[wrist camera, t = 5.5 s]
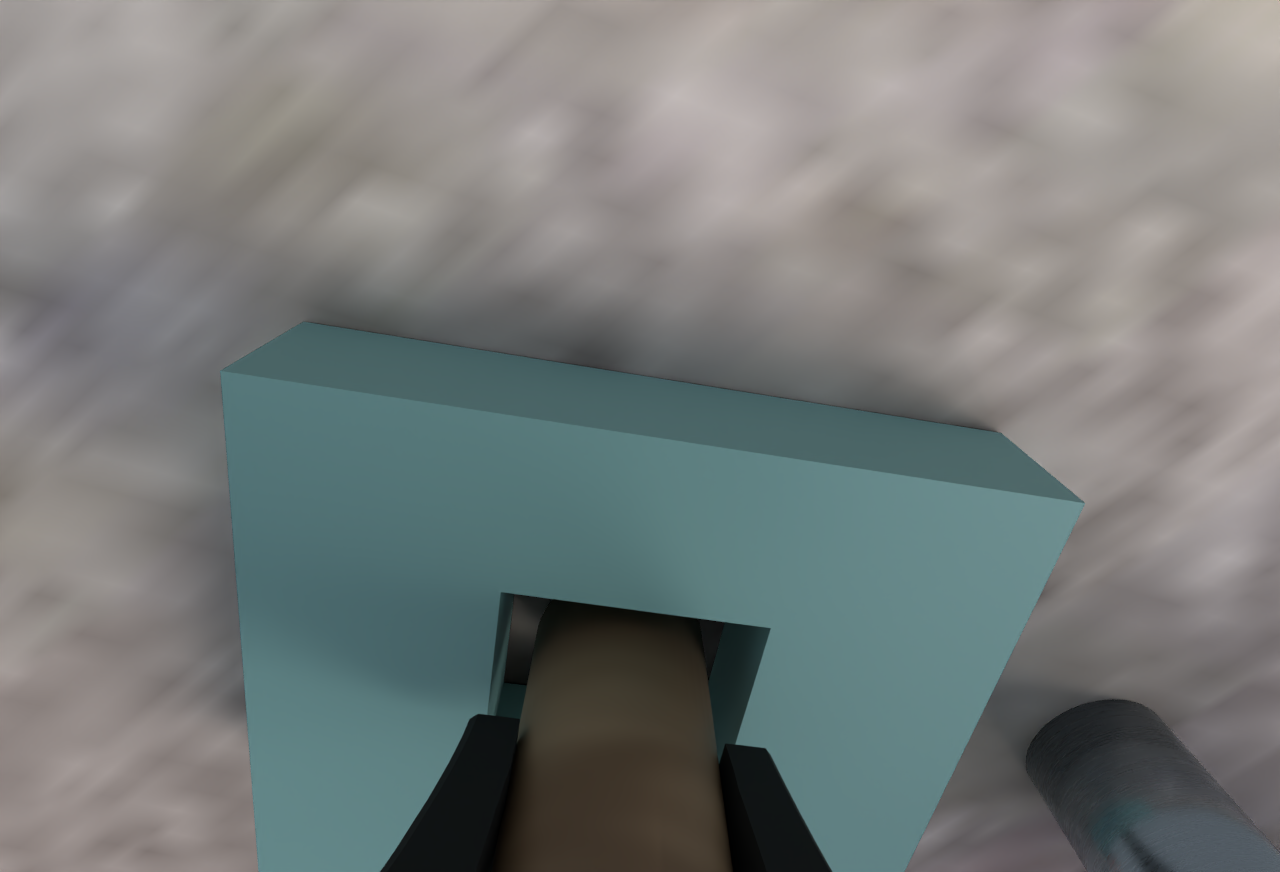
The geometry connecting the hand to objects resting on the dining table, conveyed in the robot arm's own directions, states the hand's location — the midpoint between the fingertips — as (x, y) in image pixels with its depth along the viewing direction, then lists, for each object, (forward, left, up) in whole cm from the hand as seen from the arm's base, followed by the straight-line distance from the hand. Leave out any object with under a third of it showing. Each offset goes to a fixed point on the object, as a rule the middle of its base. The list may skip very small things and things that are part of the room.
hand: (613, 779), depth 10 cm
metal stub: (-11, +2, -4) cm, 12 cm away
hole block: (0, 0, -4) cm, 4 cm away
